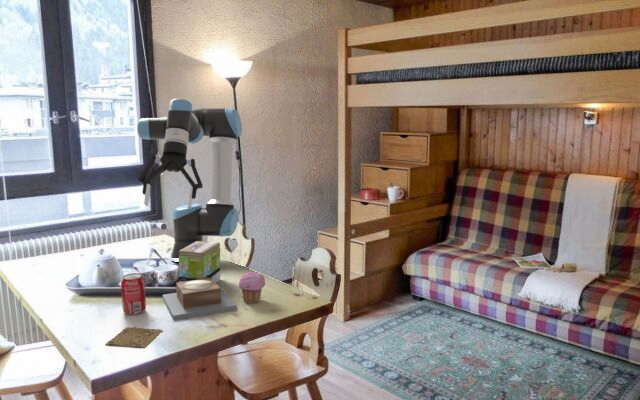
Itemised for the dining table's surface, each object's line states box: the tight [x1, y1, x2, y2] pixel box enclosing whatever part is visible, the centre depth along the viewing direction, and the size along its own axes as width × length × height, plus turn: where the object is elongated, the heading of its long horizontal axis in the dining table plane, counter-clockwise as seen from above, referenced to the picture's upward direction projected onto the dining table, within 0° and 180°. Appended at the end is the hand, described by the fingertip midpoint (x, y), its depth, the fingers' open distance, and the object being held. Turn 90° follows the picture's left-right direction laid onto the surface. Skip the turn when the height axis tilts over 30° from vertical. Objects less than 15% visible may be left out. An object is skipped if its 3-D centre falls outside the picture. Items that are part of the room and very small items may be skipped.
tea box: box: [178, 241, 221, 283], centre depth 195 cm, size 15×10×15 cm, turn 168°
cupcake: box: [238, 271, 266, 304], centre depth 179 cm, size 9×9×10 cm
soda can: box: [120, 272, 147, 316], centre depth 169 cm, size 7×7×12 cm
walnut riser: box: [175, 278, 221, 309], centre depth 176 cm, size 12×12×5 cm
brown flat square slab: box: [104, 326, 164, 349], centre depth 152 cm, size 12×12×1 cm
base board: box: [162, 285, 237, 321], centre depth 177 cm, size 20×20×2 cm
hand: (167, 206), depth 171 cm, fingers open, 13 cm apart
